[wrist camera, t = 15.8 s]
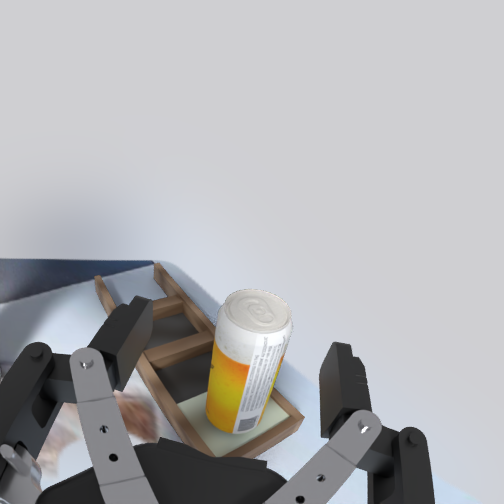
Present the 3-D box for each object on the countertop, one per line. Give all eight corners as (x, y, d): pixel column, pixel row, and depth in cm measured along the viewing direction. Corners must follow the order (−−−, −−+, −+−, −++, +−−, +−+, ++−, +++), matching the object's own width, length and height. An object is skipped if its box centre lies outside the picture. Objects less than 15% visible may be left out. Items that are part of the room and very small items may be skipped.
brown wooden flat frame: (297, 430, 34) (304, 417, 32) (212, 480, 26) (214, 470, 25) (158, 277, 57) (159, 262, 56) (95, 291, 50) (94, 276, 48)
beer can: (242, 386, 36) (268, 281, 29) (271, 424, 31) (311, 322, 25) (195, 402, 32) (206, 293, 26) (221, 445, 28) (245, 343, 21)
